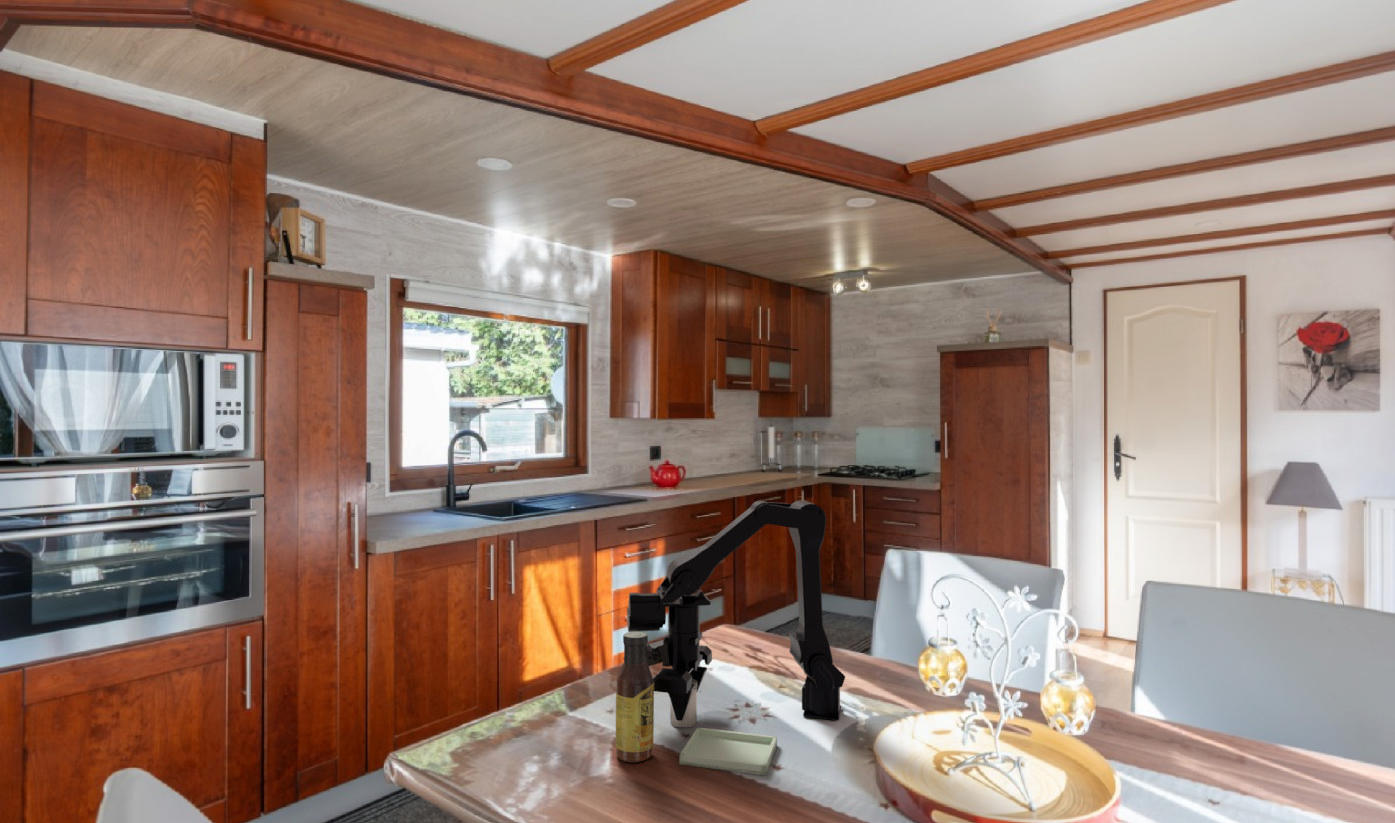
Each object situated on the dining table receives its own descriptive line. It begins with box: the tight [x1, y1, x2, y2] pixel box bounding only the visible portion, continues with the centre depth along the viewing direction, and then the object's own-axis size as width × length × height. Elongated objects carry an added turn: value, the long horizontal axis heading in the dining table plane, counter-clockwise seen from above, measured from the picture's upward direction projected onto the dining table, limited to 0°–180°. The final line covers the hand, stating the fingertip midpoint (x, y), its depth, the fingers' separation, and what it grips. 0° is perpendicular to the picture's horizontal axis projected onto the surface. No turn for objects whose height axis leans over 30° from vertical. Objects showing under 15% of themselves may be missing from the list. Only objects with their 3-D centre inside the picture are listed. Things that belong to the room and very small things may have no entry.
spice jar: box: [669, 678, 698, 728], centre depth 138 cm, size 5×5×7 cm
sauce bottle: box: [615, 631, 655, 763], centre depth 125 cm, size 6×6×20 cm
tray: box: [679, 726, 778, 777], centre depth 125 cm, size 14×11×2 cm
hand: (683, 714), depth 138 cm, fingers closed on spice jar, 5 cm apart
